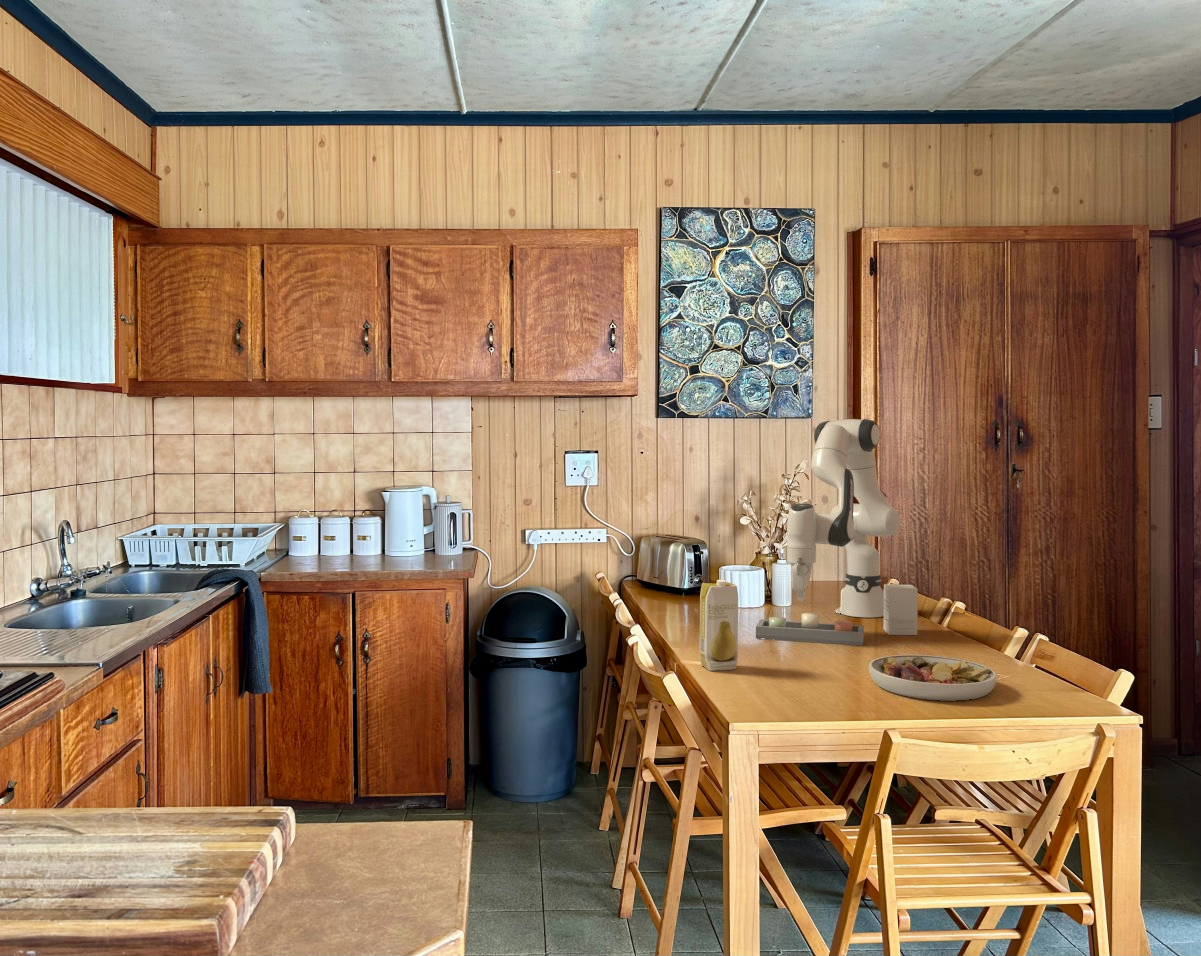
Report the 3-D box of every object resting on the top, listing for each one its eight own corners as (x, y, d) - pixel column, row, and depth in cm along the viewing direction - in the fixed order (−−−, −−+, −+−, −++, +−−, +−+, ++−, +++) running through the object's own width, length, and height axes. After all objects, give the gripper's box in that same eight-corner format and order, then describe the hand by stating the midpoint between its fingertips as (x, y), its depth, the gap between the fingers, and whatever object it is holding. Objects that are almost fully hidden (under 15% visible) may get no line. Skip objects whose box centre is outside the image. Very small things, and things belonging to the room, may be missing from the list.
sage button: (769, 628, 297) (770, 616, 297) (786, 629, 296) (786, 617, 295) (768, 632, 292) (768, 619, 292) (785, 633, 291) (785, 620, 290)
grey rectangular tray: (760, 631, 301) (760, 619, 301) (863, 637, 292) (863, 625, 292) (755, 638, 290) (755, 626, 290) (863, 645, 281) (863, 633, 281)
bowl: (895, 667, 256) (896, 638, 255) (1011, 686, 237) (1012, 655, 237) (849, 690, 233) (849, 658, 232) (973, 713, 214) (973, 678, 213)
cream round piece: (802, 625, 294) (802, 612, 294) (819, 626, 293) (819, 613, 293) (800, 628, 289) (801, 615, 289) (818, 629, 288) (818, 616, 288)
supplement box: (911, 629, 305) (912, 584, 304) (917, 635, 296) (918, 588, 295) (882, 629, 306) (883, 583, 305) (888, 634, 297) (889, 587, 296)
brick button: (834, 632, 291) (835, 620, 291) (852, 634, 290) (852, 621, 290) (834, 636, 286) (834, 623, 286) (851, 637, 285) (852, 624, 285)
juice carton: (707, 672, 248) (708, 582, 247) (696, 665, 256) (697, 577, 254) (740, 670, 250) (741, 581, 249) (728, 663, 258) (729, 576, 257)
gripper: (808, 561, 280) (808, 607, 281) (814, 552, 300) (814, 595, 300) (787, 560, 282) (786, 605, 283) (794, 551, 302) (794, 594, 302)
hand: (801, 600), depth 292 cm, fingers closed
